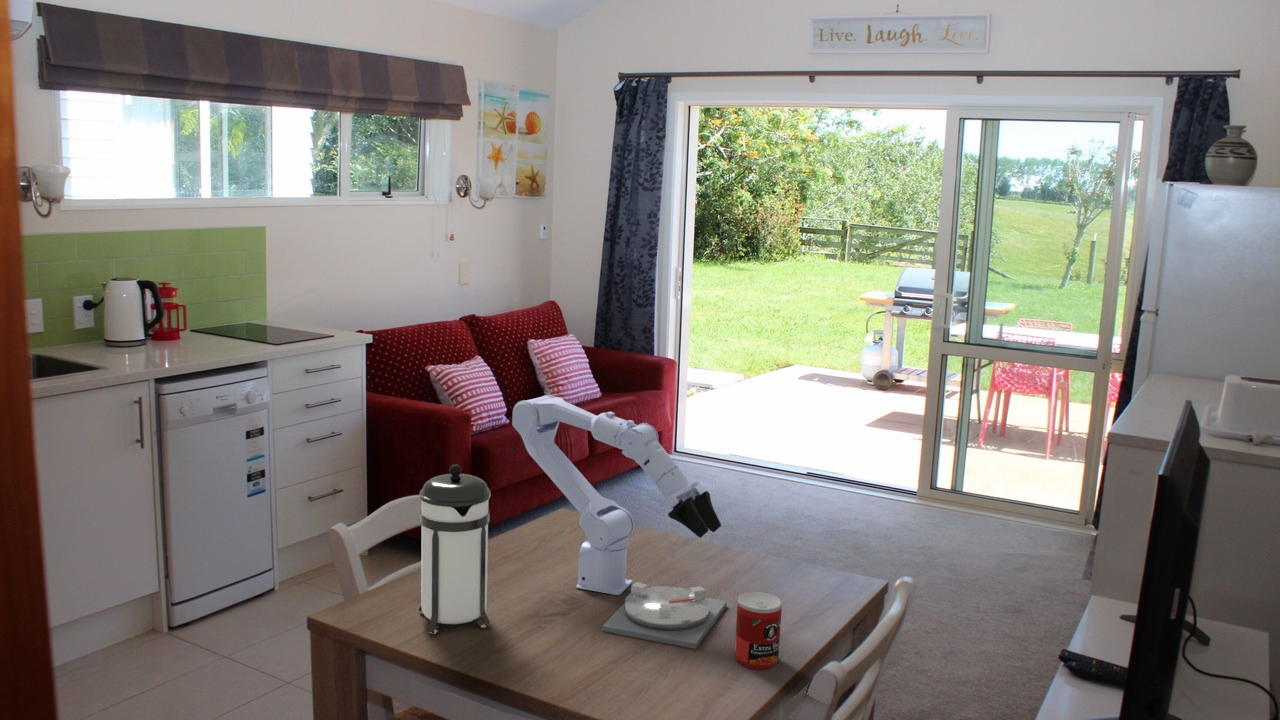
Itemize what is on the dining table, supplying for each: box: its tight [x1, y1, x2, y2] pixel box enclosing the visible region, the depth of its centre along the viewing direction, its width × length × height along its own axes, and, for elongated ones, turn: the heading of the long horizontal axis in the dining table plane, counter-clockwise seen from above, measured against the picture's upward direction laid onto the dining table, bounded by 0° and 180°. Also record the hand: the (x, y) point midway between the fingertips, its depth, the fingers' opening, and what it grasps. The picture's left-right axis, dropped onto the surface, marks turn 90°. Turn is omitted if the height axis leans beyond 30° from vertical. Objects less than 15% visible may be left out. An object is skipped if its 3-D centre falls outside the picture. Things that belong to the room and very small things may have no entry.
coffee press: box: [418, 463, 492, 633], centre depth 191 cm, size 17×16×30 cm
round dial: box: [624, 581, 709, 630], centre depth 196 cm, size 16×16×4 cm
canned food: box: [734, 591, 783, 670], centre depth 180 cm, size 8×8×11 cm
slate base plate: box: [601, 597, 727, 650], centre depth 197 cm, size 18×21×1 cm
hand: (711, 531), depth 197 cm, fingers open, 7 cm apart
